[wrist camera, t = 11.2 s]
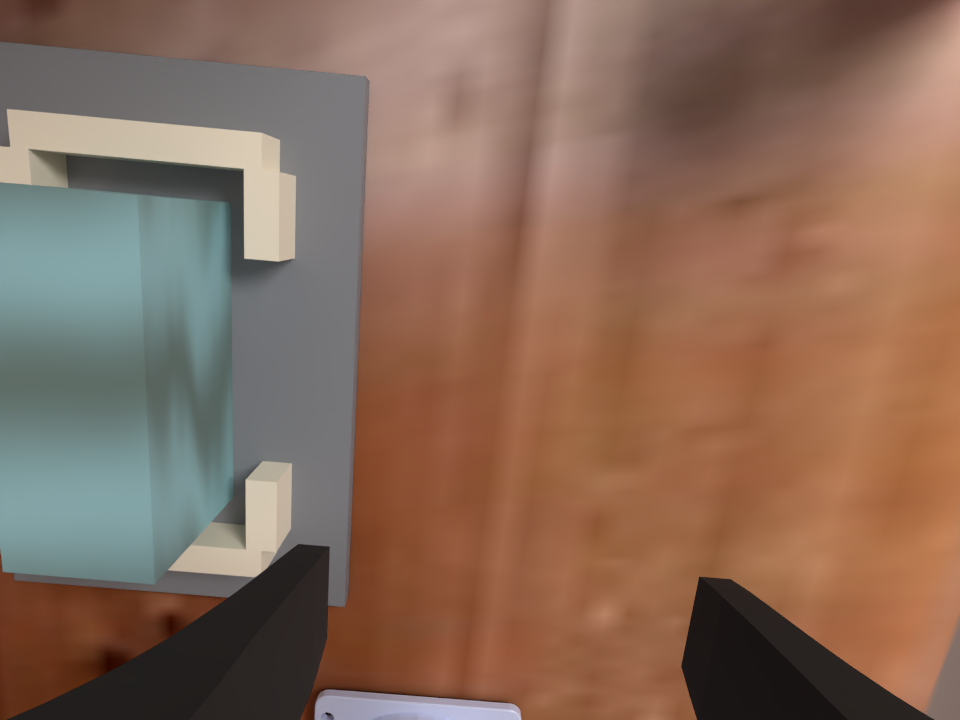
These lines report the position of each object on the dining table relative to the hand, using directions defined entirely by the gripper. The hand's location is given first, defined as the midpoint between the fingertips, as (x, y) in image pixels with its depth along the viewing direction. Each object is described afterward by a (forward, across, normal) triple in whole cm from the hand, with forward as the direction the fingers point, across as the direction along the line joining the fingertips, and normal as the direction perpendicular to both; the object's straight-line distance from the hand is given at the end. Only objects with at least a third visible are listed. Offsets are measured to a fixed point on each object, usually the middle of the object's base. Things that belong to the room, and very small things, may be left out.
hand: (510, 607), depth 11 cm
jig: (+9, +11, -2) cm, 15 cm away
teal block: (+9, +11, -2) cm, 14 cm away
